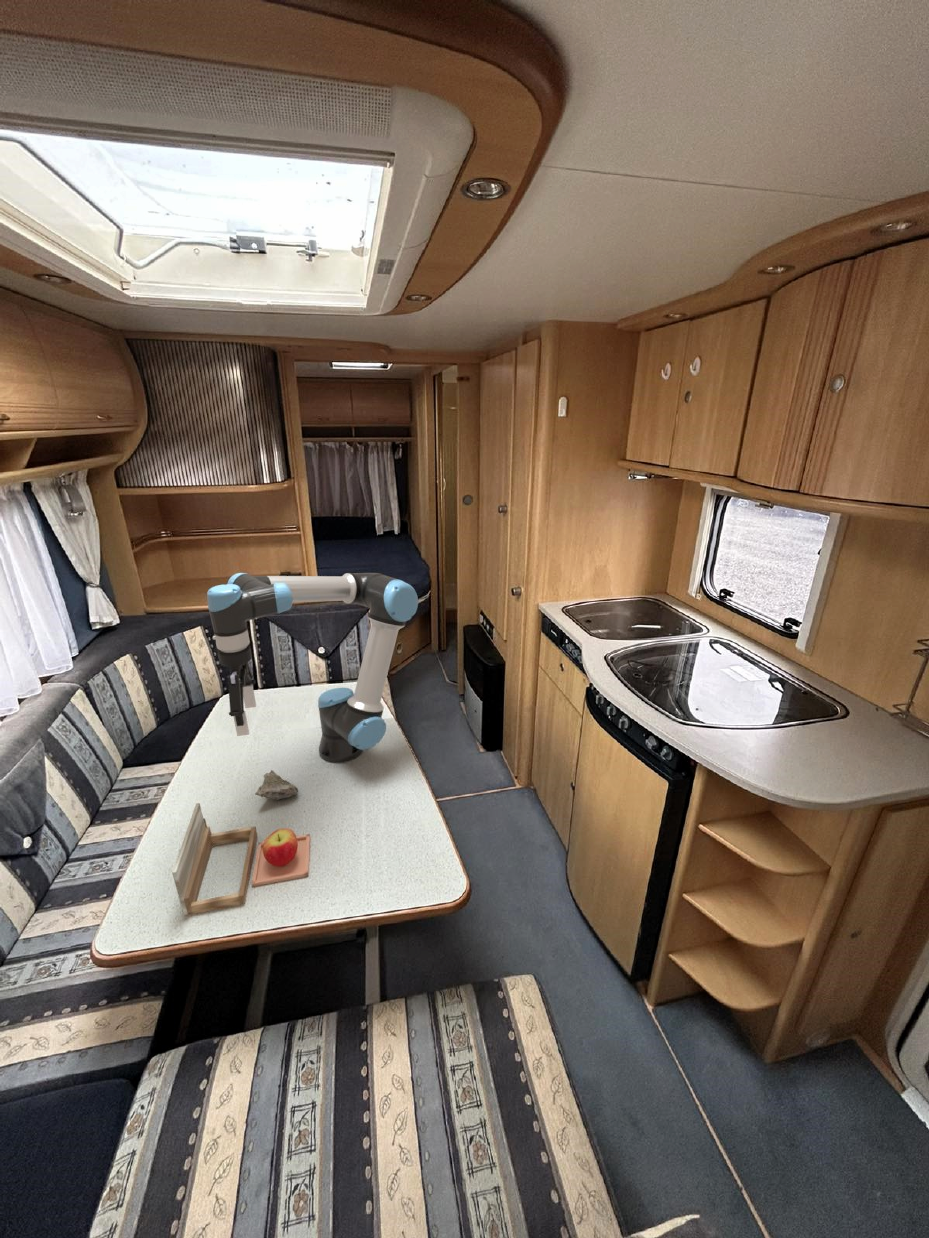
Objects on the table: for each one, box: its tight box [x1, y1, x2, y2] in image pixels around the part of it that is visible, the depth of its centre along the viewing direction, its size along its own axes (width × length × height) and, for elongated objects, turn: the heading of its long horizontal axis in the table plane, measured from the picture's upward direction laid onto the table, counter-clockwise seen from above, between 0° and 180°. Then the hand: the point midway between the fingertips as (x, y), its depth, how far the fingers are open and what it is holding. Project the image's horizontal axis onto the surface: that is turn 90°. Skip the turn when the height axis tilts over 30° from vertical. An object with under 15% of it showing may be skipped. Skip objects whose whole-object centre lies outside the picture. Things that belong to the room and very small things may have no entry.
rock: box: [255, 769, 299, 801], centre depth 150 cm, size 11×6×10 cm
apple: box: [263, 827, 298, 866], centre depth 127 cm, size 8×8×10 cm
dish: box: [251, 833, 311, 888], centre depth 129 cm, size 13×13×2 cm
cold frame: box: [171, 802, 258, 916], centre depth 124 cm, size 13×23×14 cm, turn 14°
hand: (247, 720), depth 133 cm, fingers open, 13 cm apart
